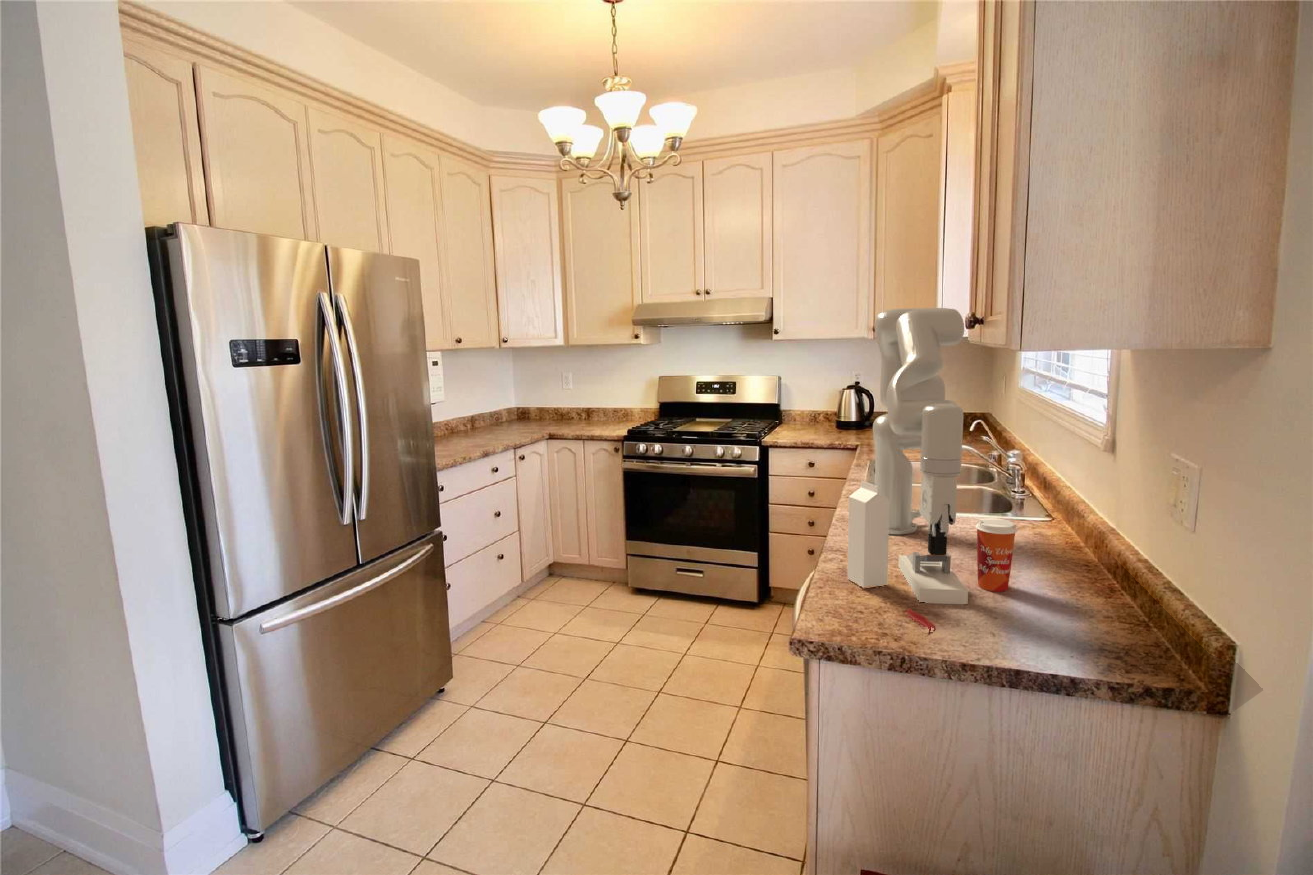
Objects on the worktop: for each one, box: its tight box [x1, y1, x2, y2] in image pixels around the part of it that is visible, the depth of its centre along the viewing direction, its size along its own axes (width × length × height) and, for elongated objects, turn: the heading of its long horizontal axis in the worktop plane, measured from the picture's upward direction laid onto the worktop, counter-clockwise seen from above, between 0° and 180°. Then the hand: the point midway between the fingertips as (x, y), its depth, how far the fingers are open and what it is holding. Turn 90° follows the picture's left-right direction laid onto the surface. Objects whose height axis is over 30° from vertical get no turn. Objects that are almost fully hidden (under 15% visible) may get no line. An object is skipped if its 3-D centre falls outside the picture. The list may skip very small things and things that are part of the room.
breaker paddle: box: [920, 554, 948, 562], centre depth 138 cm, size 9×4×1 cm, turn 171°
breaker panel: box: [897, 551, 969, 605], centre depth 139 cm, size 20×9×7 cm, turn 171°
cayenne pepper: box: [906, 607, 936, 632], centre depth 122 cm, size 12×5×2 cm, turn 167°
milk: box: [846, 480, 890, 587], centre depth 139 cm, size 6×6×22 cm
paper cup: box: [974, 517, 1018, 593], centre depth 136 cm, size 8×8×14 cm
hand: (936, 553), depth 134 cm, fingers closed
